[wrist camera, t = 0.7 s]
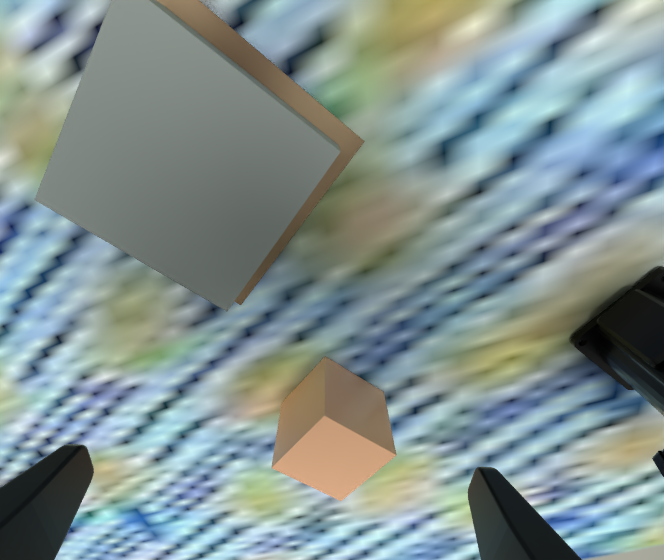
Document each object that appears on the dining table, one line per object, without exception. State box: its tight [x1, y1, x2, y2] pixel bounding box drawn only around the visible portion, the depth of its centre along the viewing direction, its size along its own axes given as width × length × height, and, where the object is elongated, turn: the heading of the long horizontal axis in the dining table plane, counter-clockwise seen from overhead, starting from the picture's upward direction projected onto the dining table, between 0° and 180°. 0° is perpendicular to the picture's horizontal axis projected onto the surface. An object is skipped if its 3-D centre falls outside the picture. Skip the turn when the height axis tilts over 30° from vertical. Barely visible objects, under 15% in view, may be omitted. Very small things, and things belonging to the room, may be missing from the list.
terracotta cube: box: [272, 356, 396, 501], centre depth 22 cm, size 5×5×5 cm
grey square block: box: [35, 0, 340, 311], centre depth 14 cm, size 8×8×3 cm
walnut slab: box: [156, 0, 364, 305], centre depth 17 cm, size 10×10×3 cm
